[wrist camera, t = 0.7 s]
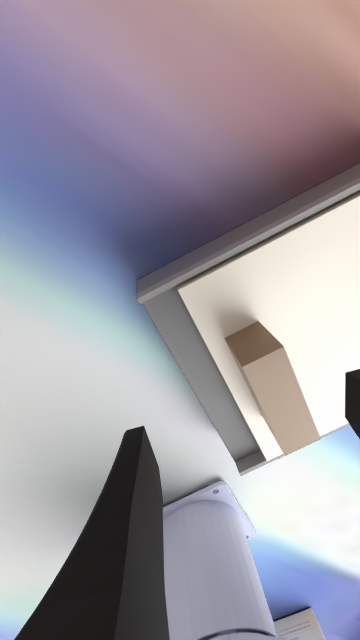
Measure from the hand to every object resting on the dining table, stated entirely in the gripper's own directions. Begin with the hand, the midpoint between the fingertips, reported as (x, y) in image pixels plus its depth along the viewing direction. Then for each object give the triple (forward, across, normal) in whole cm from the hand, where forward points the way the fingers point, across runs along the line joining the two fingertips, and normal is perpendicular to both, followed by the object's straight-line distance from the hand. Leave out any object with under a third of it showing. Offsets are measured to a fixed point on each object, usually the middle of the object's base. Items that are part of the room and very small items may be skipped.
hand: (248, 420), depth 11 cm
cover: (+7, -6, +2) cm, 9 cm away
